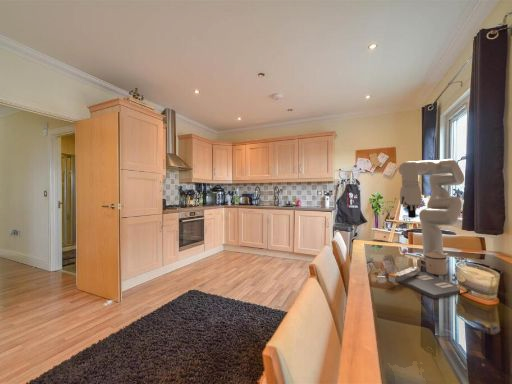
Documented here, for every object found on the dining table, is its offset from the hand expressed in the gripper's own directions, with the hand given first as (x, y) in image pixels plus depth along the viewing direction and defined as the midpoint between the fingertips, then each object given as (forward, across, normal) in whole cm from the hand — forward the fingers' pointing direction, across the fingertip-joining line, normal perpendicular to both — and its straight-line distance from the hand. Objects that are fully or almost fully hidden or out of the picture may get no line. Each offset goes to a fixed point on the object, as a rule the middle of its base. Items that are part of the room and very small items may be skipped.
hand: (412, 217), depth 124 cm
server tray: (+29, +11, +17) cm, 35 cm away
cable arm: (+27, +17, +11) cm, 33 cm away
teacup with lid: (+29, -6, +5) cm, 30 cm away
